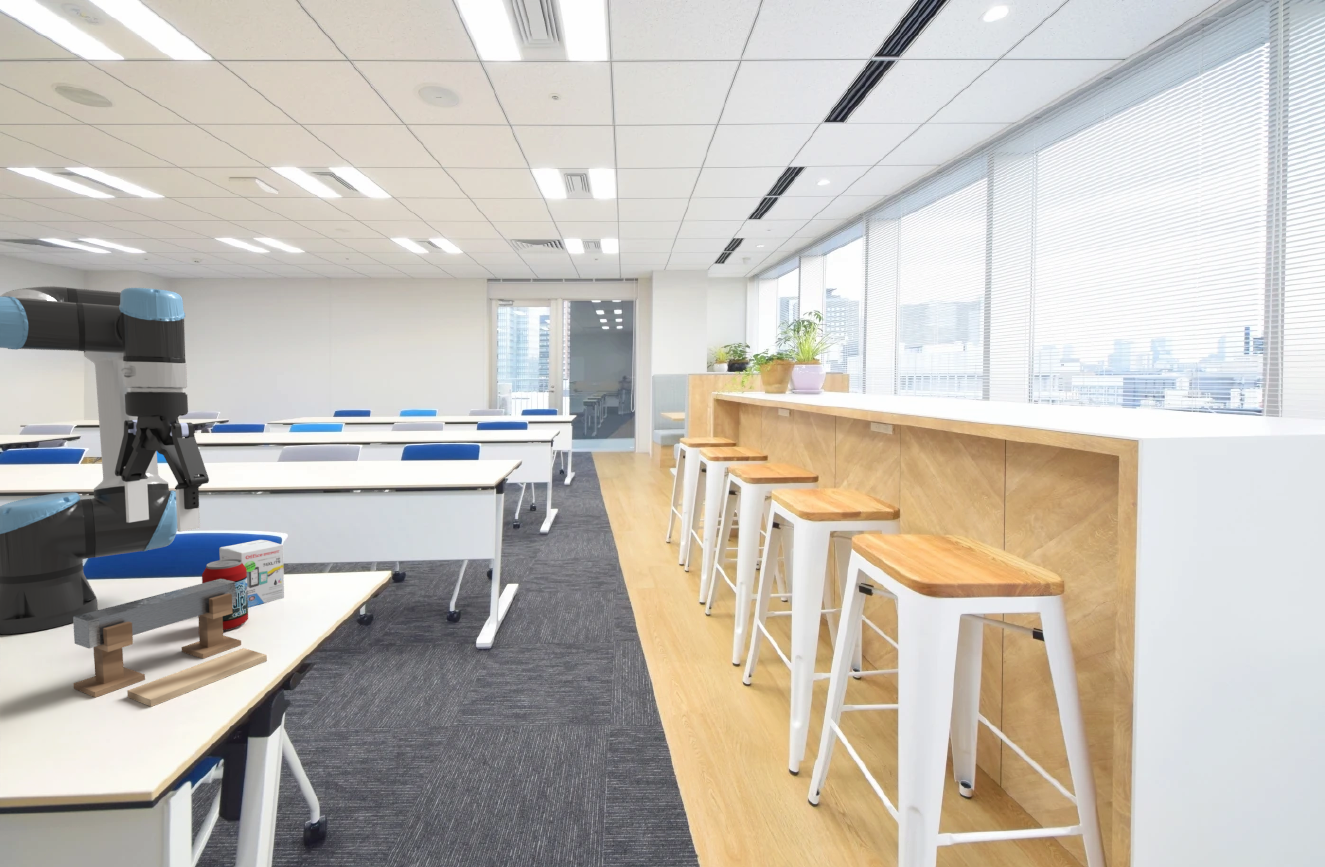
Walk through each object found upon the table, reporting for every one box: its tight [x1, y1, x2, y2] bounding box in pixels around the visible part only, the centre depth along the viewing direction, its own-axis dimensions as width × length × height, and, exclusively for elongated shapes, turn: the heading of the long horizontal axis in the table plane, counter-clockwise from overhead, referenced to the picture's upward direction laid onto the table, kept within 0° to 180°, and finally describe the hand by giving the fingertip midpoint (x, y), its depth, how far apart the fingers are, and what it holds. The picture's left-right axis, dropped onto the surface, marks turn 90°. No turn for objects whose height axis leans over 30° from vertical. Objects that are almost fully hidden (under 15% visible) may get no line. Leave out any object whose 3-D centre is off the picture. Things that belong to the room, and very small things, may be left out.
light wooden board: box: [126, 647, 268, 707], centre depth 93 cm, size 6×16×1 cm, turn 156°
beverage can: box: [201, 559, 249, 632], centre depth 113 cm, size 7×7×12 cm
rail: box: [72, 579, 236, 649], centre depth 96 cm, size 4×20×4 cm, turn 156°
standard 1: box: [73, 622, 146, 698], centre depth 90 cm, size 7×6×10 cm
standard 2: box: [181, 593, 242, 659], centre depth 103 cm, size 7×6×10 cm
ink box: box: [218, 539, 285, 608], centre depth 127 cm, size 8×8×12 cm
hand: (162, 525), depth 96 cm, fingers open, 13 cm apart
